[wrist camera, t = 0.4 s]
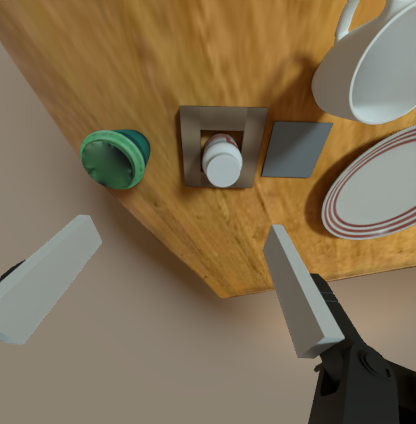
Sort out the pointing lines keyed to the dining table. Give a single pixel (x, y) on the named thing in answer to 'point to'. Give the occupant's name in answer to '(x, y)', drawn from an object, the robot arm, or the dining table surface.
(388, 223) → the dinner plate
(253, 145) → the collar
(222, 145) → the pill bottle
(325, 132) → the coaster
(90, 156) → the cup
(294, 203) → the dining table surface
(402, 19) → the mug
